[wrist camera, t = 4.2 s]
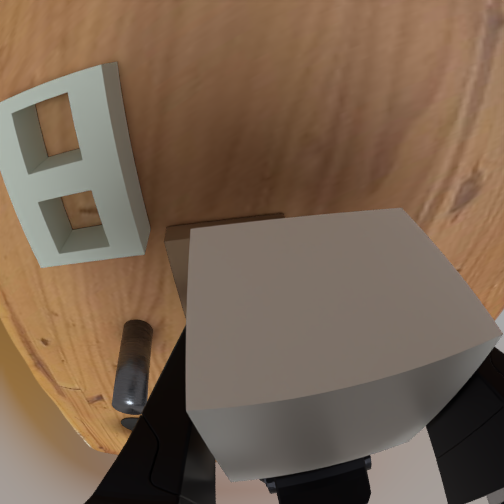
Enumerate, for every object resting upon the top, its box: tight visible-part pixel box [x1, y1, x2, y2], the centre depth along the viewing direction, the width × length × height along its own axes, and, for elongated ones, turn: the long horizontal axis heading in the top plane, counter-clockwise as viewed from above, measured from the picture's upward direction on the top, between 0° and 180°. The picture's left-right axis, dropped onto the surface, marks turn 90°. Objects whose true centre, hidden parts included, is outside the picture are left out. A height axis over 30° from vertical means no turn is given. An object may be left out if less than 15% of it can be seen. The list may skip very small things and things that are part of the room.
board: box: [164, 214, 285, 318], centre depth 20 cm, size 10×7×4 cm
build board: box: [0, 62, 151, 268], centre depth 14 cm, size 10×7×2 cm
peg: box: [112, 320, 153, 415], centre depth 21 cm, size 2×2×7 cm
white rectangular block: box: [186, 208, 503, 482], centre depth 7 cm, size 6×6×4 cm
